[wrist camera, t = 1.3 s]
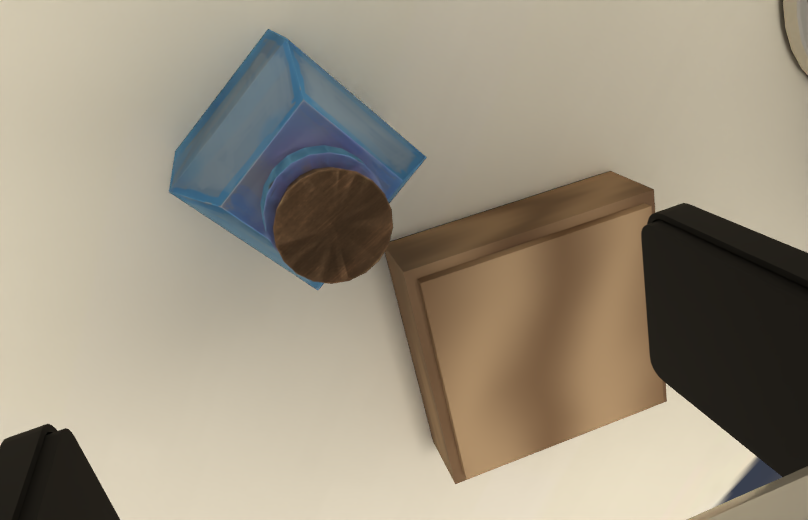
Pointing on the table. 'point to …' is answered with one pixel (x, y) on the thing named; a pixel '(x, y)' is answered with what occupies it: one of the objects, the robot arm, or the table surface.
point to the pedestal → (529, 321)
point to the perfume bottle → (295, 166)
